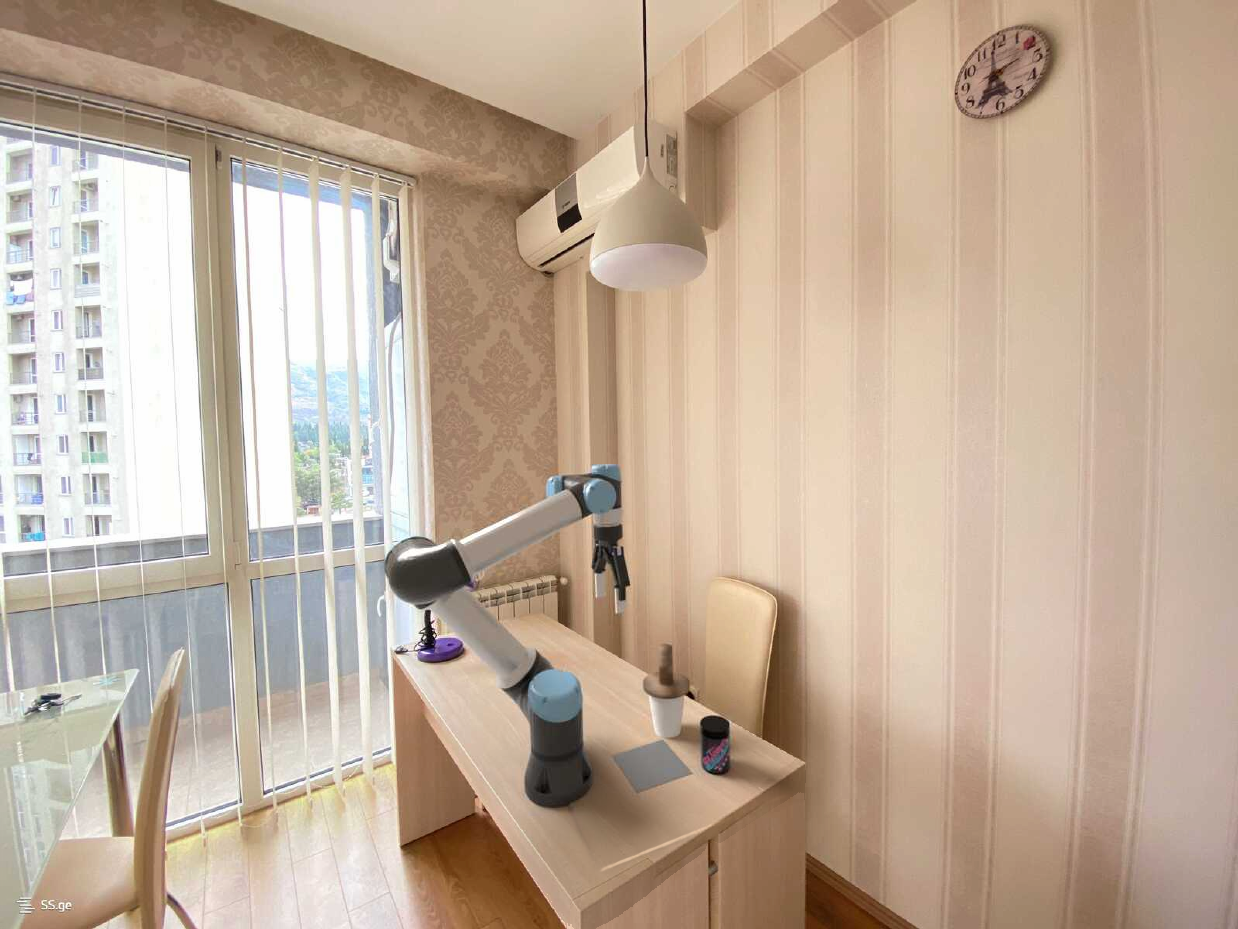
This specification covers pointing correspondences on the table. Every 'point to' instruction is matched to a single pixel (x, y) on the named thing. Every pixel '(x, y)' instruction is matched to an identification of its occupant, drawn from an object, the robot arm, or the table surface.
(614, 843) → the table surface
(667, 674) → the lid
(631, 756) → the mat
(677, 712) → the cup
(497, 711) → the table surface
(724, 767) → the supplement container
